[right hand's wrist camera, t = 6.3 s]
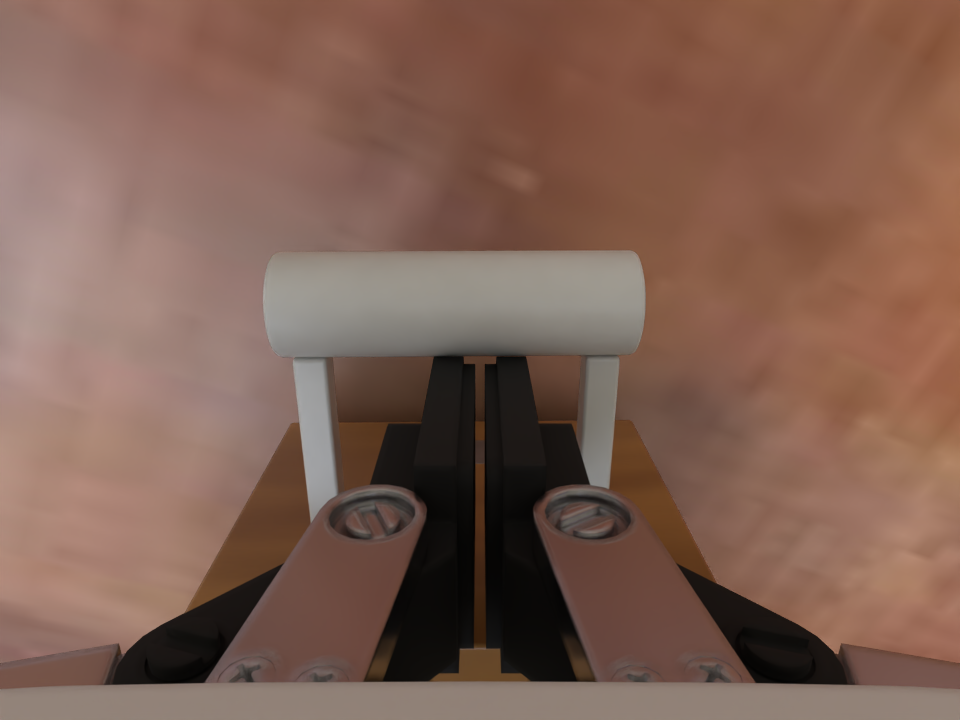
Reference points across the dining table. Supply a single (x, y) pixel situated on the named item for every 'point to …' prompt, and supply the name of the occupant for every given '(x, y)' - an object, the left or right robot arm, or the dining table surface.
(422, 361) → the dining table surface
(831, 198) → the dining table surface
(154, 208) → the dining table surface
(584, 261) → the drawer
